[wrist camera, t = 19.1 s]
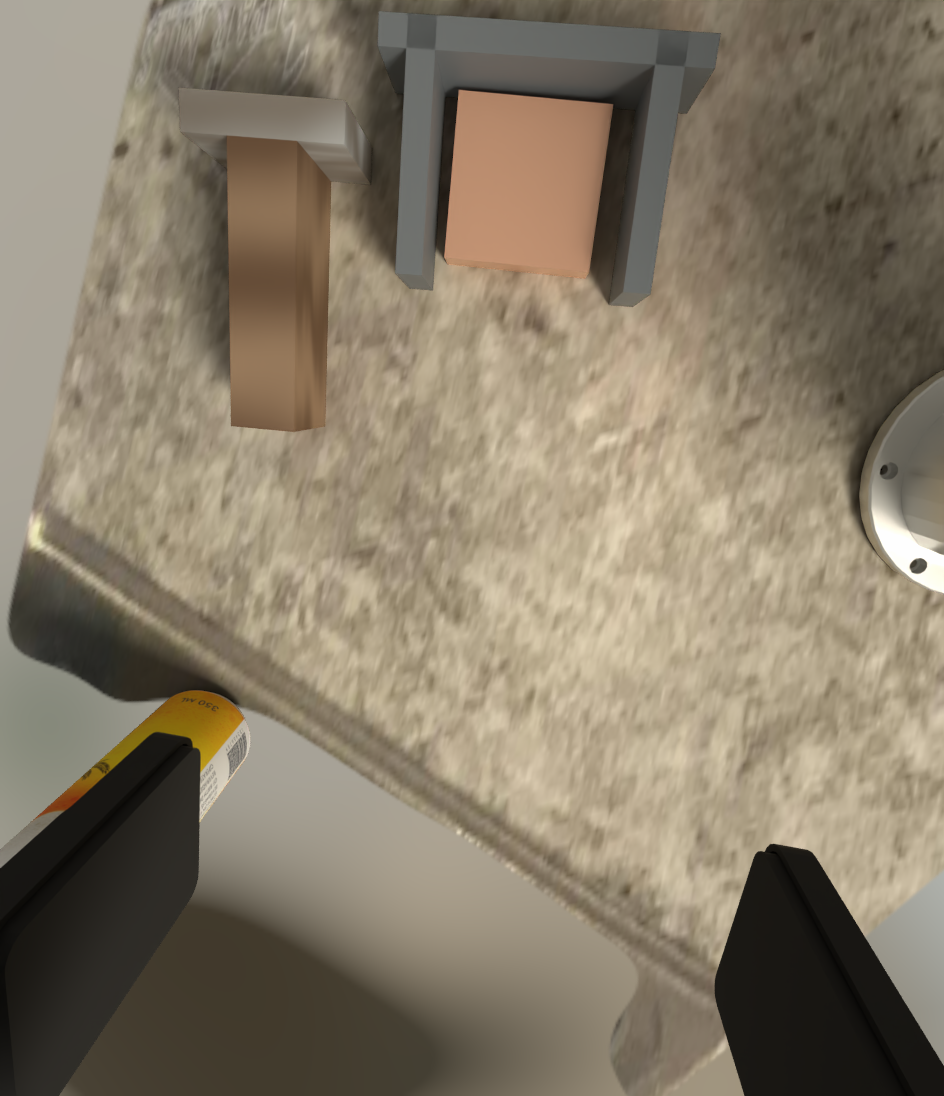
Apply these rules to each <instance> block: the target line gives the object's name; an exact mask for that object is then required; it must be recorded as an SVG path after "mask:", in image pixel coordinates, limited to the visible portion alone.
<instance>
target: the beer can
mask: <svg viewBox="0 0 944 1096" xmlns="http://www.w3.org/2000/svg"><path fill="white" fill-rule="evenodd" d="M154 732H162V733H168V734H173V735H179V736H184V737H188V738H190V739H191V741H192V743H193V747H194V748H198V749H199V750H200V754H201V767H200V818H199V822H200V821H201V820H202V818H203V817H204V816H205V814H206V813H207V811H208V810H209V808H210V807H211V806H212V804H213V803H214V802H215V800H216V799H217V797H218V796H219V795H220V794H221V792H222V791H223V789H224V788H225V787H226V785H227V784H228V782H229V781H230V780H231V778H232V777H233V776H234V774H235V773H236V771H237V770H238V768H239V767H240V766H241V765H242V763H243V762H244V760H245V759H246V757H247V755H248V752H249V749H250V732H249V728H248V725H247V723H246V720H245V718H244V716H243V714H242V712H241V711H240V710H239V708H238V707H237V706H236V705H235V704H234V703H233V702H231V701H230V700H229V699H227V698H225V697H223V696H221V695H219V694H216V693H212V692H207V691H200V690H191V691H185V692H181V693H178V694H176V695H174V696H172V697H171V698H169V699H168V700H167V701H166V702H165V703H164V704H163V705H161V706H160V707H159V708H158V709H157V710H156V711H155V712H154V713H152V715H150V716H149V717H148V718H147V719H146V720H145V721H143V722H142V723H141V724H140V725H139V726H138V727H137V728H136V729H134V730H133V731H132V732H131V733H130V734H129V735H128V736H127V737H126V738H124V739H123V740H122V741H121V742H120V743H119V744H118V745H117V746H116V747H114V748H113V749H112V750H111V751H110V752H109V753H108V754H107V755H105V756H104V757H103V758H102V759H101V760H100V761H99V762H98V763H97V764H95V765H94V766H93V767H92V768H91V769H90V770H89V771H88V772H86V773H85V774H84V775H83V776H82V777H81V778H80V779H79V780H77V781H76V782H75V783H74V784H73V785H72V786H71V787H70V788H69V789H67V790H66V791H65V792H64V793H63V794H62V795H61V796H60V797H58V798H57V799H56V800H55V801H54V802H53V803H52V804H51V805H50V806H48V807H47V808H46V809H45V810H44V811H43V812H42V813H41V814H39V815H38V816H37V817H36V818H35V819H34V820H33V821H32V822H30V823H29V824H28V825H27V826H26V827H25V828H24V829H23V830H22V831H20V832H19V833H18V834H17V835H16V836H15V837H14V838H13V839H11V840H10V841H9V842H8V843H7V844H6V845H5V846H4V847H3V848H1V849H0V868H1V867H2V866H3V865H4V864H5V863H7V862H8V861H9V860H10V859H11V858H12V857H13V856H14V855H15V854H17V853H18V852H19V851H20V850H21V849H22V848H23V847H24V846H25V845H27V844H28V843H29V842H30V841H31V840H32V839H33V838H34V837H35V836H37V835H38V834H39V833H40V832H41V831H42V830H43V829H44V828H45V827H47V826H48V825H49V824H50V823H51V822H52V821H53V820H54V819H55V818H57V817H58V816H59V815H60V814H61V813H62V812H64V811H65V810H67V809H68V808H69V807H71V806H72V805H73V804H74V803H75V802H76V801H77V800H79V799H80V798H81V797H82V796H83V795H84V794H85V793H86V792H87V791H88V790H90V789H91V788H92V787H93V786H94V785H95V784H96V783H97V782H98V781H99V780H101V779H102V778H103V777H104V776H105V775H106V774H107V773H108V772H109V771H111V770H112V769H113V768H114V767H115V766H116V765H117V764H118V763H119V762H120V761H122V760H123V759H124V758H125V757H126V756H127V755H128V754H129V753H130V752H132V751H133V750H134V749H135V748H136V747H137V746H138V745H139V744H140V743H141V742H143V741H144V740H145V739H146V738H147V737H148V736H149V735H151V734H152V733H154Z"/></svg>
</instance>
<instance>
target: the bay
mask: <svg viewBox="0 0 944 1096" xmlns="http://www.w3.org/2000/svg"><path fill="white" fill-rule="evenodd" d="M720 34H721V33H706V32H691V31H675V30H660V29H644V28H629V27H614V26H598V25H583V24H567V23H552V22H536V21H521V20H506V19H490V18H475V17H459V16H444V15H428V14H413V13H398V12H382V11H379V21H378V48H379V51H380V54H381V56H382V59H383V62H384V64H385V67H386V69H387V72H388V75H389V77H390V80H391V82H392V85H393V88H394V90H395V93H401V94H404V105H403V125H402V146H401V166H400V186H399V207H398V227H397V248H396V268H395V274H396V275H397V276H398V277H399V278H400V279H401V280H402V281H403V282H404V283H405V284H406V285H407V286H408V287H409V288H410V289H422V290H433V282H434V266H435V251H436V235H437V220H438V204H439V189H440V173H441V158H442V142H443V127H444V111H445V97H458V94H459V90H465V91H476V92H487V93H498V94H508V95H519V96H530V97H541V98H551V99H562V100H573V101H584V102H595V103H605V104H613V108H615V109H629V110H635V115H634V123H633V130H632V137H631V145H630V152H629V159H628V167H627V174H626V182H625V189H624V196H623V204H622V211H621V218H620V226H619V233H618V241H617V248H616V255H615V263H614V270H613V277H612V285H611V292H610V299H609V305H615V306H627V307H633V306H635V305H636V304H637V303H639V302H640V301H642V300H643V299H644V298H646V297H647V296H649V295H650V294H651V287H652V280H653V274H654V267H655V261H656V254H657V248H658V241H659V234H660V228H661V221H662V215H663V208H664V201H665V195H666V188H667V182H668V175H669V168H670V162H671V155H672V149H673V142H674V136H675V129H676V122H677V116H678V113H686V114H687V112H688V111H689V109H690V107H691V106H692V104H693V103H694V101H695V99H696V98H697V96H698V95H699V93H700V91H701V90H702V88H703V87H704V85H705V84H706V82H707V80H708V79H709V77H710V76H711V74H712V72H713V71H714V69H715V65H716V59H717V53H718V46H719V40H720Z"/></svg>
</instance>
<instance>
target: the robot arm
mask: <svg viewBox="0 0 944 1096" xmlns="http://www.w3.org/2000/svg"><path fill="white" fill-rule="evenodd" d="M882 466H883V469H882V471H881V472H880V469H881V468H882ZM859 499H860V510H861V518H862V521H863V524H864V527H865V530H866V533H867V537H868V539H869V540H870V542H871V544H872V545H873V547H874V549H875V550H876V552H877V554H878V555H879V556H880V557H881V558H882V559H883V560H884V561H885V562H886V564H887V565H888V566H889V567H890V568H891V569H892V570H894V571H895V572H897V573H898V574H900V575H901V576H903V577H904V578H906V579H907V580H909V581H910V582H913V583H915V584H917V585H919V586H921V587H923V588H925V589H927V590H930V591H933V592H937V593H940V594H943V595H944V370H943V371H941V372H939V373H937V374H935V375H934V376H932V377H931V378H930V379H928V380H927V381H925V382H924V383H922V384H921V385H919V386H918V387H917V388H915V389H914V390H913V391H912V392H911V393H910V394H909V395H908V396H907V397H906V398H905V399H904V400H903V401H902V402H900V403H899V404H898V405H897V406H896V407H895V409H894V410H893V411H892V413H891V414H890V415H889V417H888V418H887V419H886V421H885V422H884V423H883V425H882V426H881V427H880V429H879V431H878V433H877V435H876V437H875V439H874V441H873V443H872V445H871V446H870V448H869V450H868V454H867V457H866V460H865V463H864V467H863V470H862V473H861V483H860V492H859ZM200 767H201V754H200V750H199V749H198V748H194V747H193V743H192V741H191V739H190V738H188V737H184V736H179V735H173V734H168V733H162V732H154V733H152V734H151V735H149V736H148V737H147V738H146V739H145V740H144V741H143V742H141V743H140V744H139V745H138V746H137V747H136V748H135V749H134V750H133V751H132V752H130V753H129V754H128V755H127V756H126V757H125V758H124V759H123V760H122V761H120V762H119V763H118V764H117V765H116V766H115V767H114V768H113V769H112V770H111V771H109V772H108V773H107V774H106V775H105V776H104V777H103V778H102V779H101V780H99V781H98V782H97V783H96V784H95V785H94V786H93V787H92V788H91V789H90V790H88V791H87V792H86V793H85V794H84V795H83V796H82V797H81V798H80V799H79V800H77V801H76V802H75V803H74V804H73V805H72V806H71V807H69V808H68V809H67V810H65V811H64V812H62V813H61V814H60V815H59V816H58V817H57V818H55V819H54V820H53V821H52V822H51V823H50V824H49V825H48V826H47V827H45V828H44V829H43V830H42V831H41V832H40V833H39V834H38V835H37V836H35V837H34V838H33V839H32V840H31V841H30V842H29V843H28V844H27V845H25V846H24V847H23V848H22V849H21V850H20V851H19V852H18V853H17V854H15V855H14V856H13V857H12V858H11V859H10V860H9V861H8V862H7V863H5V864H4V865H3V866H2V867H1V868H0V1096H59V1095H60V1093H61V1092H62V1090H63V1089H64V1087H65V1086H66V1084H67V1083H68V1081H69V1080H70V1078H71V1077H72V1075H73V1074H74V1072H75V1071H76V1069H77V1068H78V1066H79V1065H80V1063H81V1062H82V1060H83V1059H84V1057H85V1056H86V1054H87V1053H88V1051H89V1050H90V1048H91V1047H92V1045H93V1044H94V1042H95V1041H96V1039H97V1038H98V1036H99V1035H100V1033H101V1032H102V1030H103V1029H104V1027H105V1026H106V1024H107V1023H108V1021H109V1020H110V1018H111V1017H112V1015H113V1014H114V1013H115V1011H116V1010H117V1008H118V1006H119V1005H120V1004H121V1002H122V1001H123V999H124V997H125V996H126V994H127V993H128V992H129V990H130V989H131V987H132V985H133V984H134V982H135V981H136V979H137V978H138V977H139V975H140V974H141V972H142V971H143V969H144V968H145V966H146V965H147V963H148V961H149V960H150V959H151V957H152V956H153V954H154V953H155V951H156V949H157V948H158V947H159V945H160V944H161V942H162V941H163V939H164V938H165V936H166V935H167V933H168V932H169V930H170V929H171V927H172V926H173V924H174V923H175V921H176V920H177V918H178V917H179V915H180V914H181V912H182V911H183V909H184V908H185V906H186V905H187V903H188V902H189V900H190V898H191V897H192V894H193V892H194V890H195V887H196V884H197V880H198V868H199V867H198V866H199V818H200ZM715 998H716V1003H717V1007H718V1010H719V1013H720V1017H721V1020H722V1023H723V1027H724V1030H725V1033H726V1036H727V1040H728V1043H729V1046H730V1050H731V1053H732V1056H733V1059H734V1062H735V1066H736V1069H737V1073H738V1076H739V1079H740V1082H741V1086H742V1089H743V1092H744V1096H944V1065H943V1064H942V1062H941V1061H940V1059H939V1057H938V1056H937V1054H936V1052H935V1051H934V1050H933V1048H932V1046H931V1044H930V1043H929V1041H928V1039H927V1038H926V1036H925V1035H924V1033H923V1031H922V1030H921V1028H920V1026H919V1025H918V1023H917V1021H916V1020H915V1018H914V1017H913V1015H912V1013H911V1012H910V1010H909V1008H908V1007H907V1005H906V1004H905V1002H904V1000H903V999H902V997H901V995H900V994H899V992H898V990H897V989H896V987H895V986H894V984H893V983H892V981H891V979H890V977H889V976H888V974H887V972H886V971H885V969H884V968H883V966H882V964H881V963H880V961H879V959H878V958H877V956H876V955H875V953H874V951H873V950H872V948H871V946H870V945H869V943H868V941H867V940H866V938H865V937H864V935H863V933H862V932H861V930H860V928H859V927H858V925H857V924H856V922H855V920H854V919H853V917H852V915H851V914H850V912H849V910H848V909H847V907H846V906H845V904H844V902H843V901H842V899H841V897H840V896H839V894H838V893H837V891H836V889H835V888H834V886H833V884H832V883H831V881H830V879H829V878H828V876H827V875H826V873H825V871H824V870H823V868H822V866H821V865H820V863H819V862H818V860H817V858H816V857H815V856H814V854H813V853H812V852H810V851H808V850H805V849H799V848H794V847H788V846H783V845H777V844H770V845H769V846H768V847H767V848H766V850H765V852H762V851H759V852H757V853H756V854H755V857H754V859H753V862H752V865H751V868H750V871H749V874H748V878H747V881H746V884H745V887H744V890H743V893H742V896H741V899H740V902H739V905H738V908H737V912H736V915H735V918H734V921H733V924H732V927H731V930H730V933H729V936H728V939H727V943H726V946H725V949H724V952H723V955H722V958H721V961H720V964H719V967H718V970H717V974H716V978H715Z"/></svg>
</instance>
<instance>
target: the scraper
mask: <svg viewBox="0 0 944 1096" xmlns="http://www.w3.org/2000/svg"><path fill="white" fill-rule="evenodd" d="M179 116H180V132H181V133H182V134H183V135H185V136H186V137H187V138H189V139H190V140H191V141H192V142H194V143H195V144H196V145H197V146H199V147H200V148H201V149H202V150H204V151H205V152H206V153H207V154H209V155H210V156H211V157H212V158H214V159H215V160H216V161H217V162H219V163H220V164H221V165H222V166H224V167H225V168H226V169H227V190H228V254H229V318H230V383H231V426H237V427H248V428H258V429H269V430H279V431H290V432H296V431H301V430H307V429H312V428H318V427H323V426H325V414H326V373H327V332H328V291H329V250H330V209H331V182H343V183H356V184H368V185H371V168H372V147H371V145H370V143H369V141H368V140H367V138H366V136H365V134H364V132H363V130H362V129H361V127H360V125H359V123H358V121H357V120H356V118H355V116H354V114H353V112H352V111H351V109H350V107H349V105H348V103H347V102H346V100H337V99H324V98H311V97H298V96H284V95H271V94H258V93H244V92H231V91H218V90H204V89H191V88H179Z"/></svg>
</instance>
